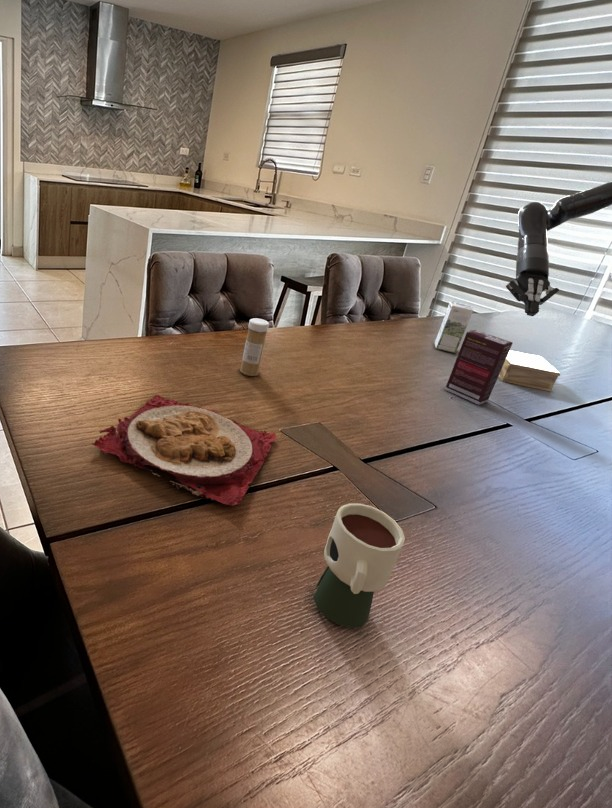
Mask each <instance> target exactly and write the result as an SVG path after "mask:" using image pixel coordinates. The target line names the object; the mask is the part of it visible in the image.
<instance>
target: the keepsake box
mask: <svg viewBox="0 0 612 808" xmlns="http://www.w3.org/2000/svg"><path fill="white" fill-rule="evenodd" d="M558 378H559V376H556V375H551V374H546V373H541V372H537V371H532V370H527V369H522V368H517V367H512V366H509V365H508V363H507V362H506V361H505V362H504V364H503V367H502V369H501V371H500V374H499V376H498V379H499V380H500V381H501V382H504V383H508V384H514V385H519V386H522V387H523V386H524V387H528V388H532V389H538V390H542V391H546V392H552V389H553V387H554V385H555V383H556V382H557V380H558Z"/></svg>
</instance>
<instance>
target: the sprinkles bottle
mask: <svg viewBox="0 0 612 808" xmlns="http://www.w3.org/2000/svg"><path fill="white" fill-rule="evenodd" d="M248 321H249V322H248V326H247V335H246V339H245V344H244V349H243V354H242V360H241V366H240V369H239V371H240V373H241V374H243V375H245V376H248V377H256V376H258V375H259V371H260V365H261V362H262V358H263V354H264V353H263V352H264V347H265V342H266V338H267V333H268V331H269V327H270V322H269V321H267V320H266V319H263V318H257V317H255V318H250V319H249V320H248Z"/></svg>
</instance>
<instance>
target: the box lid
mask: <svg viewBox="0 0 612 808" xmlns="http://www.w3.org/2000/svg"><path fill="white" fill-rule="evenodd" d="M505 361H506V362H507V363H508V365H509V366H512V367H517V368H522V369H527V370H532V371H537V372H541V373H546V374H551V375H556V376H558V377H561V372H560V371H558V370H557V369H556V368H555V367H554V366H553V365H551V364H550V363H549V362H548V361H547V360H546V359H545V358H544V357H543V356H540V355H536V354H532V353H531V354H530V353H526V352H521V351H516V350H511V349H510V351H509V353H508V355H507V358H506V360H505Z"/></svg>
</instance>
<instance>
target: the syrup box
mask: <svg viewBox="0 0 612 808" xmlns="http://www.w3.org/2000/svg"><path fill="white" fill-rule="evenodd" d="M473 313H474V310H473V307H472V305H470V304H465V303H462V302H461V303H460V302H456V301H451V300H450V301H449V302H448V306H447V308H446V311H445V314H444V316H443V319H442V321H441V324H440V327H439V329H438V332H437V335H436V337H435V340H434V347H435V349H436V350H440V351H444V352H448V353H452V354H457V351H458V350H459V347H460V344H461V342H462V339H463V337H464V335H465V332H466V330H467V327H468V325H469V322H470V320H471V317H472V315H473Z"/></svg>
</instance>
